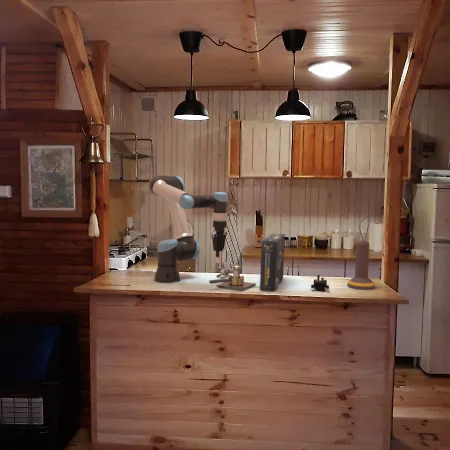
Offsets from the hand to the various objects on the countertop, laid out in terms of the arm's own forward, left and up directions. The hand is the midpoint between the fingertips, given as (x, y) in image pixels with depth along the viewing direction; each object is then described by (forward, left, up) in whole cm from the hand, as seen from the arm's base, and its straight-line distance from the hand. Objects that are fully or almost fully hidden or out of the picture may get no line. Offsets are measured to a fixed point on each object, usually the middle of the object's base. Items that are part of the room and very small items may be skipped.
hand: (218, 262), depth 267 cm
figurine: (-11, +25, -14) cm, 31 cm away
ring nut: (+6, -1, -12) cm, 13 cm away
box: (+23, +22, -14) cm, 34 cm away
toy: (+47, +35, -14) cm, 60 cm away
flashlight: (+67, +46, -14) cm, 82 cm away
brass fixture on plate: (+9, +5, -13) cm, 17 cm away
